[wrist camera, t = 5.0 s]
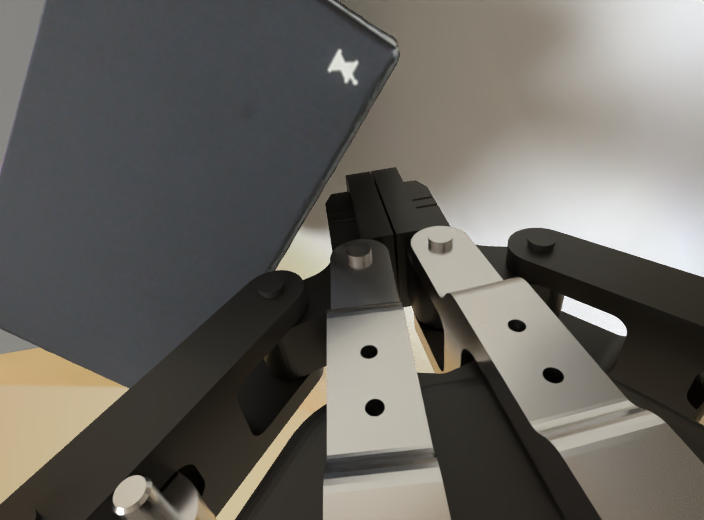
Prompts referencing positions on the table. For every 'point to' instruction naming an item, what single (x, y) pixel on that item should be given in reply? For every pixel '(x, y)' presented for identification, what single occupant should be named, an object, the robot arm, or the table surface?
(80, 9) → the small box
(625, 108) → the table surface
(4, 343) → the mat
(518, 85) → the table surface
